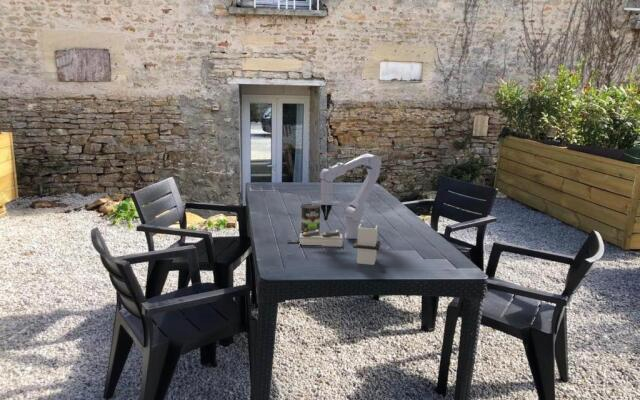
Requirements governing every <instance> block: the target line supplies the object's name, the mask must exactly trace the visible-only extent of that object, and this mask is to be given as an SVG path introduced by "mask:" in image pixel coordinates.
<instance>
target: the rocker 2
mask: <svg viewBox="0 0 640 400" xmlns="http://www.w3.org/2000/svg"><path fill="white" fill-rule="evenodd" d="M322 234H323V237H332V236H337V235H339V234H340V230H339V229H335V230H330V231H325V232H322Z"/></svg>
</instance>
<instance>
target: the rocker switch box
mask: <svg viewBox="0 0 640 400" xmlns="http://www.w3.org/2000/svg"><path fill="white" fill-rule="evenodd" d="M288 241H297V242H300V243H299V245H300V244H305V245H322V246H321V247H339V248H340V247H343V234H342V233H339V235H337V236H332V237H323V233H320V235H315V236H311V237H303V233H302V232H300V233H299V240H298V239H296V240H295V239H287V242H288Z"/></svg>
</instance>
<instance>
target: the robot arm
mask: <svg viewBox="0 0 640 400" xmlns="http://www.w3.org/2000/svg"><path fill="white" fill-rule="evenodd" d="M382 163H383V162H382V159H381V157H380V156H379V155H377V154H371V153H369V152H367V153H365V154H364V153H363V154H361V155H360V156H357V157H355V158H354V159H352V160H350V161H347V162H346V163H343V162H337V163H336V164H335V165H333V166H329V167H328V168H323V169H322V170H321V171H320V172H319V174H318V177H319V178H320V200H315V201H314V200H313V201H311V204H312V206H321V207H320V210H321V212H322V214H323V218H324V219H323V221H328V218H329V214H330V212H331V210H332V207H342V202H341V201H336V200H335V201H334V200H333V188H334V187H333V184H334V183H333V181H335V179H337V178H339V177H340V176H343V175H346V174H347V171H348V170H351V169H353V168H356V167H359V166H363V167H365V169H366V171H367V175H366V177H365V179H364V180H363V183H362V184H361V186H360V188H359V190H358V192H357V194H356V195H355V198H354V200H351V202H349V204H348V205H347V206H346V207H345V208H344V211H343V214H344V215H345V233H344V239H349V240H350V239H352V240H353V239H354V240H356V239H358V227H359V225H360V224H361V228H365V221H364V219H363V220H362V218H363V215H364V211H365V208H364V207H365V206H364V205H365V203H366V201H367V199H368V197H369V196H370V193H371V192H372V190H373V187H374V186H375V184H376V182H377V181H378V178H379V176H380V173H381V172H380V171H381V167H382Z"/></svg>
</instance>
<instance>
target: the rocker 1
mask: <svg viewBox="0 0 640 400" xmlns="http://www.w3.org/2000/svg"><path fill="white" fill-rule="evenodd" d="M320 234H321V232H319V229H317V230H313V231H308V232H304V233H303V237H311V236H315V235H320Z"/></svg>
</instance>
